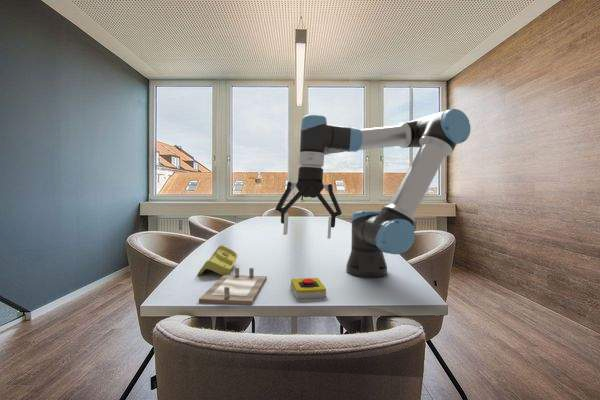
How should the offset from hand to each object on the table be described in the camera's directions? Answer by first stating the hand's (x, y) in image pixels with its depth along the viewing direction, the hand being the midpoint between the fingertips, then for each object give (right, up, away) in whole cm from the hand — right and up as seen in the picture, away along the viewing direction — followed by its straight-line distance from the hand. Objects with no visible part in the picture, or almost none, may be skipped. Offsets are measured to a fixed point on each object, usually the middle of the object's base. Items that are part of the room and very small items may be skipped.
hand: (306, 236), depth 98 cm
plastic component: (-33, -16, +24) cm, 44 cm away
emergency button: (0, -18, 0) cm, 18 cm away
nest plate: (-22, -17, +1) cm, 28 cm away
